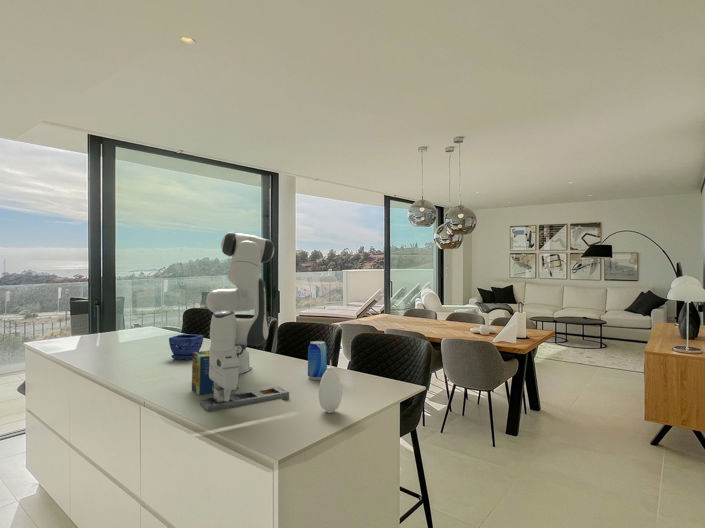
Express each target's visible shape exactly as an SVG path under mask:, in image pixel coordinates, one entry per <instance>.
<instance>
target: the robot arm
mask: <svg viewBox="0 0 705 528" xmlns="http://www.w3.org/2000/svg"><path fill="white" fill-rule="evenodd" d="M220 243H221V244H220V247H221V251H222V253H223V255H225V256H227V257H231V259H230V264H229V268H228V272H227V278H228V280H229V282H230V283H231V284H233V285H235V286H236V287H234V288H219V289H214V290H210V291H209V293H208V294H207V296H206V299H205V302H206V307H207V309H208V310H209V311H210V312H212V313H213V314H212V316H211V320H210V329H209V339H210V347H209V350H210V356H209V363H210V364H209V378H210V379H211V380H212V381H214V387H215V388H218V387H220V386H221V387H222V388H223V389H224V391H225V392H224V395H223V400H224V401H229V400H230V395H231V393H232V391H236V390H238V389H237V386H238V387H239V377H240V376H239V375H241V374H245V373H246V372H248V371H251V370H252V369H253V366H252V365H251V364H250V362H251V361H250V351H248V350H247V346H252V347H260V346H261V345H262V344H263V345H264V343H265V342H266V341H267V340H268V337H269V323H268V309H267V308H268V305H267V303H268V302H267V300H268V299H267V288H266V287H267V285H266V283H265V280H264V279H263V278H261V276H260V270H261V263H263V264H264V263H268V262H270V261H271V260H272V258H273V256H274V253H275V244H274V242H273V241H272V240H270V239H267V238H263V237H260V236H257V235H253V234H251V235H250V234H246V233H239V232H235V231H228V232H226V233H225V234H224V236H223V238H222V239H221V242H220ZM253 310H254V313H253V314H254V316H253V317H251V318H246V317H245V318H243V317H241V318H240V317H236V314H235V313H236V312H237V313H238V312H250V311H253ZM236 352H237V353H239V358H238V357H237V354H236ZM237 366H238V367H237Z"/></svg>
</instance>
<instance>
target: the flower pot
mask: <svg viewBox="0 0 705 528" xmlns="http://www.w3.org/2000/svg"><path fill="white" fill-rule="evenodd" d="M168 342H169V348H170V351H171V352H172V355H171V354H170V356H171V358H172V359H173V360H182V359H186V361H191V360H192V352H200V350H201V348H202V345H203V342H204V335H203V334H190V333H187V334H186V333H183V334H177V335H174V336H171V337H169V338H168Z"/></svg>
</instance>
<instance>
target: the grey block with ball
mask: <svg viewBox="0 0 705 528" xmlns="http://www.w3.org/2000/svg"><path fill="white" fill-rule="evenodd" d="M224 392H225V391H224V389H223V388H222V387H218V388H214V393H213V398H214V403H215V404H219V403H225V402H230V400H229V401H224V400H223V395H224Z"/></svg>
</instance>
